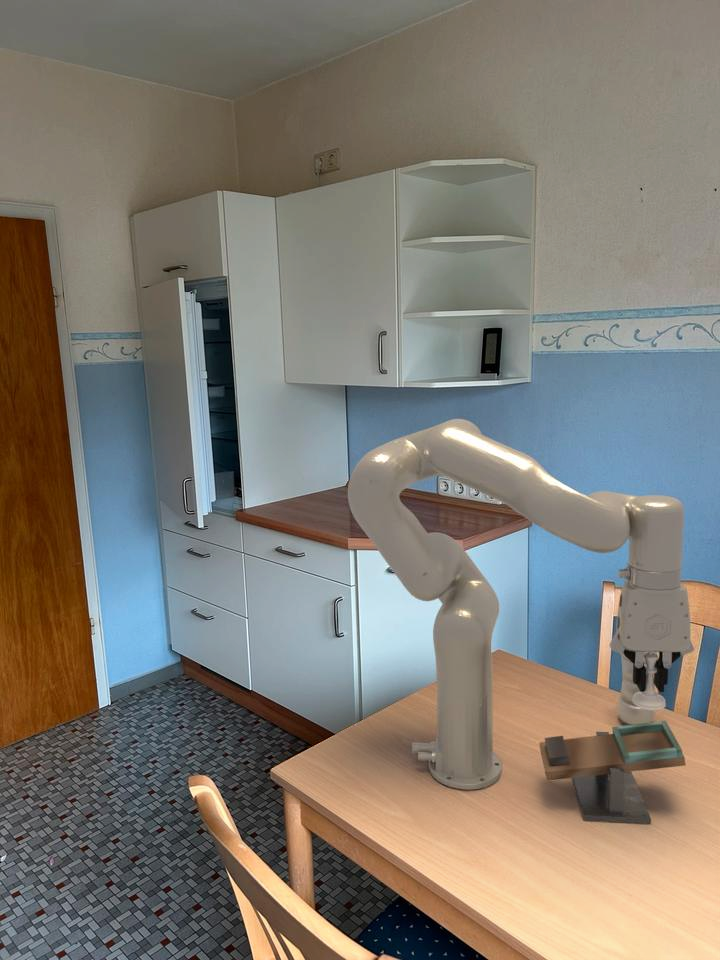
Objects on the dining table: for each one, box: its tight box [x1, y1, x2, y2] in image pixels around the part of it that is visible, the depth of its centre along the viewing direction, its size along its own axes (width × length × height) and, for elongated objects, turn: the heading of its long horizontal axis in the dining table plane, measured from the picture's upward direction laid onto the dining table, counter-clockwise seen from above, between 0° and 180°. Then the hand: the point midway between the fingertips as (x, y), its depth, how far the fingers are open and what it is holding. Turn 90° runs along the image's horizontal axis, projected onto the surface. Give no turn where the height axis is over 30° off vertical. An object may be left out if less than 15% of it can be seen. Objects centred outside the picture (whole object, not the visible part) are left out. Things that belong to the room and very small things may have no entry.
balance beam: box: [538, 720, 686, 782], centre depth 116 cm, size 21×9×4 cm, turn 83°
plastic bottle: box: [617, 652, 658, 725], centre depth 138 cm, size 6×7×20 cm
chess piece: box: [632, 652, 667, 711], centre depth 113 cm, size 5×5×10 cm
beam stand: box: [571, 731, 652, 825], centre depth 117 cm, size 10×13×8 cm
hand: (649, 687), depth 113 cm, fingers closed on chess piece
